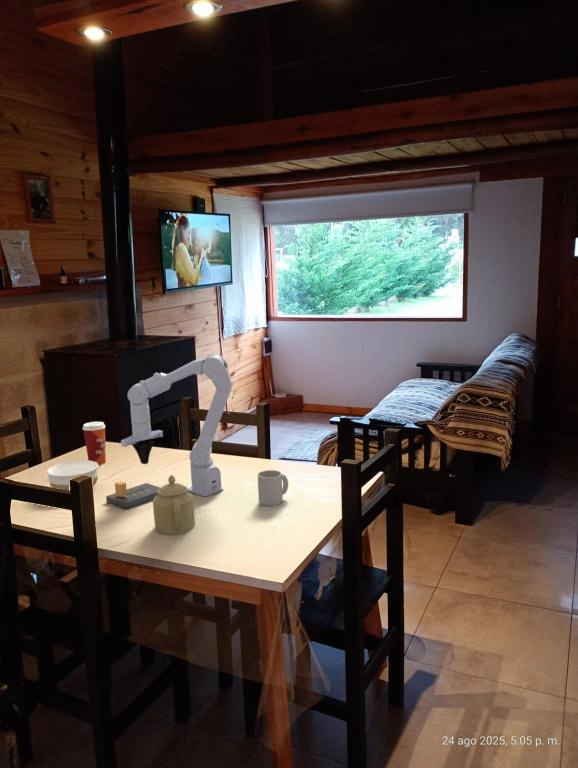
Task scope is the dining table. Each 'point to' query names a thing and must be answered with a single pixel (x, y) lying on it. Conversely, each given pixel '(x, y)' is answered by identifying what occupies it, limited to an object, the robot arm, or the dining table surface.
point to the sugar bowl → (173, 509)
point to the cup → (271, 487)
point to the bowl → (71, 472)
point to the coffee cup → (95, 441)
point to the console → (134, 496)
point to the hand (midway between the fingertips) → (144, 463)
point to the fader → (120, 489)
